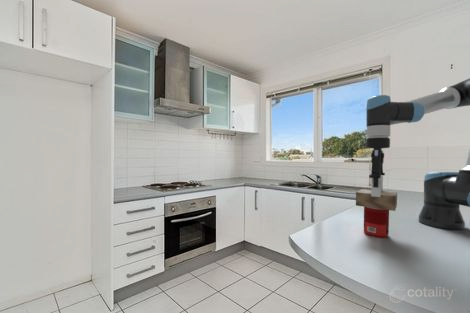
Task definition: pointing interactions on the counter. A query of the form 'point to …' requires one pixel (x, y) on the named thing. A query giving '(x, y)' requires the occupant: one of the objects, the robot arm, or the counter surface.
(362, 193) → the brown wooden block
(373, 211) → the canned food
